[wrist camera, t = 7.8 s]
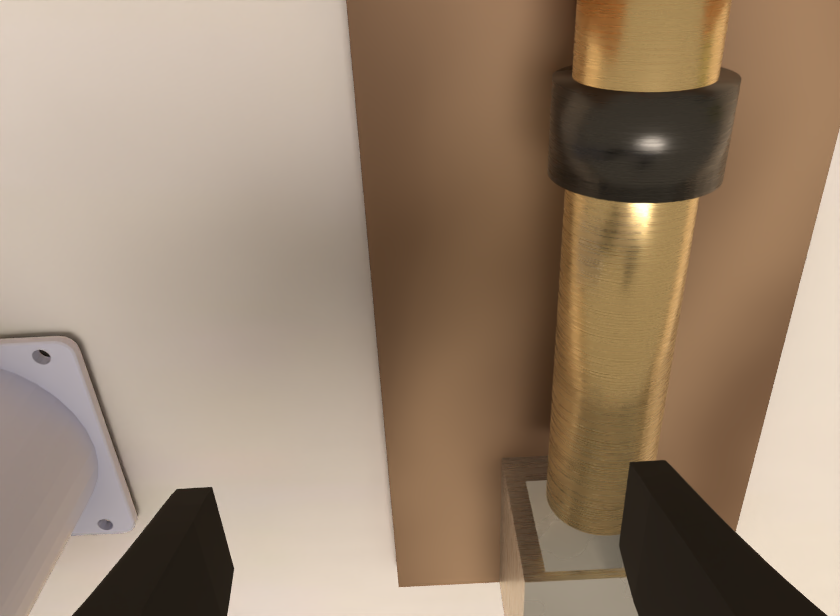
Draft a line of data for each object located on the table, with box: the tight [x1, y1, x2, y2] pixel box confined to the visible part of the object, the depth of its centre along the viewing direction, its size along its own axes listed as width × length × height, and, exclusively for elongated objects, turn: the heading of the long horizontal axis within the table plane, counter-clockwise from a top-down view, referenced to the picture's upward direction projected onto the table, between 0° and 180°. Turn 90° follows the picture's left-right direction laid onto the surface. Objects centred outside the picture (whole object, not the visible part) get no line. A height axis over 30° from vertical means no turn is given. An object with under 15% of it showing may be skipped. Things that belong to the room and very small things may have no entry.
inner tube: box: [546, 0, 741, 535], centre depth 16 cm, size 4×16×4 cm, turn 3°
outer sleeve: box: [500, 456, 638, 616], centre depth 22 cm, size 5×6×5 cm
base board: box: [346, 0, 840, 587], centre depth 19 cm, size 12×27×1 cm, turn 3°
